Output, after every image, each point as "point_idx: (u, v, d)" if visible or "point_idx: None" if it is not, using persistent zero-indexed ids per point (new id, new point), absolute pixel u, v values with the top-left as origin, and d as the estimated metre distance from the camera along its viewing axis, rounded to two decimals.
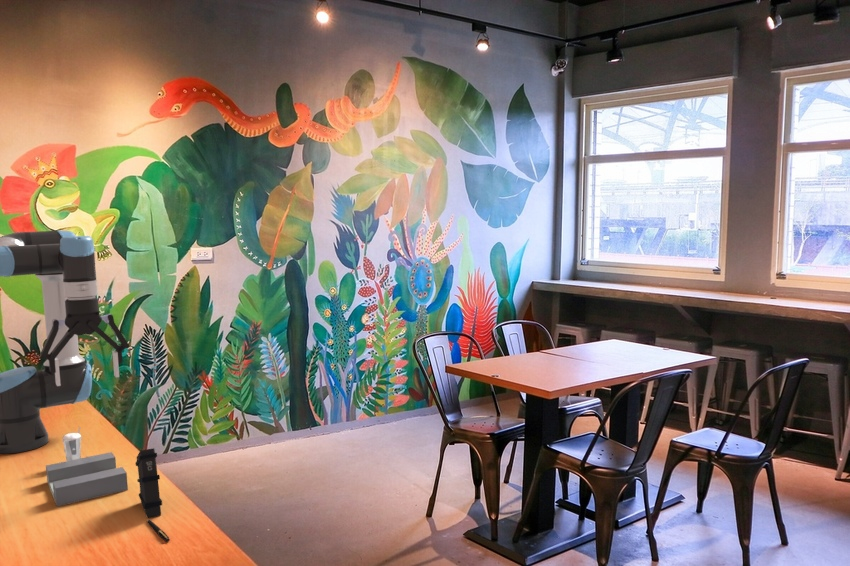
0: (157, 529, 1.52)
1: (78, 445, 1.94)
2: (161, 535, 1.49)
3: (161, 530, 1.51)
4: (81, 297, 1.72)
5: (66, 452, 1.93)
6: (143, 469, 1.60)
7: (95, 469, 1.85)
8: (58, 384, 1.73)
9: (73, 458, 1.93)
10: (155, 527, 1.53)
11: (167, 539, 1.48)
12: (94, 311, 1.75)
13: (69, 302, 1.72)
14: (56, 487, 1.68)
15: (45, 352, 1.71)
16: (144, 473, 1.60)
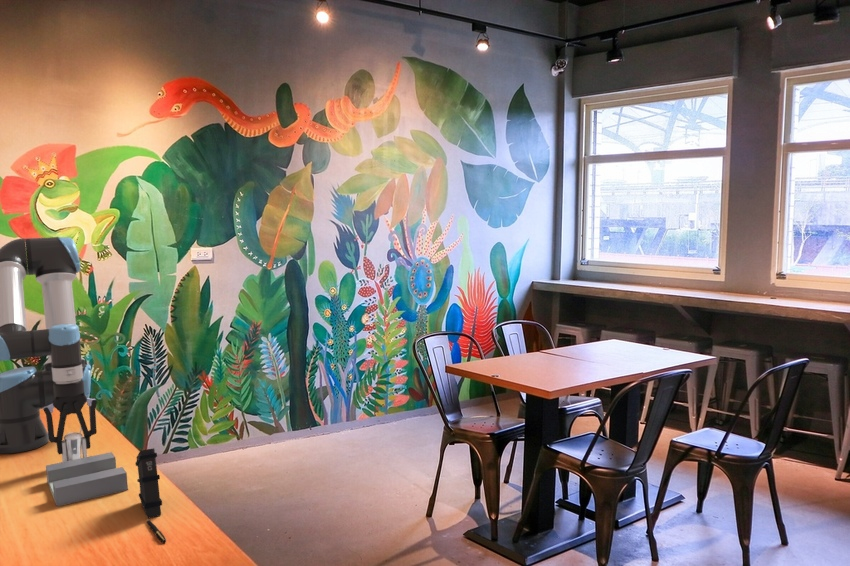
0: (155, 530, 1.52)
1: (79, 445, 1.94)
2: (158, 536, 1.49)
3: (159, 531, 1.51)
4: (68, 381, 1.90)
5: (67, 451, 1.93)
6: (143, 469, 1.60)
7: (95, 469, 1.85)
8: None
9: (73, 458, 1.93)
10: (153, 528, 1.53)
11: (163, 540, 1.47)
12: (80, 393, 1.92)
13: (57, 386, 1.89)
14: (56, 487, 1.68)
15: (51, 436, 1.90)
16: (144, 473, 1.60)
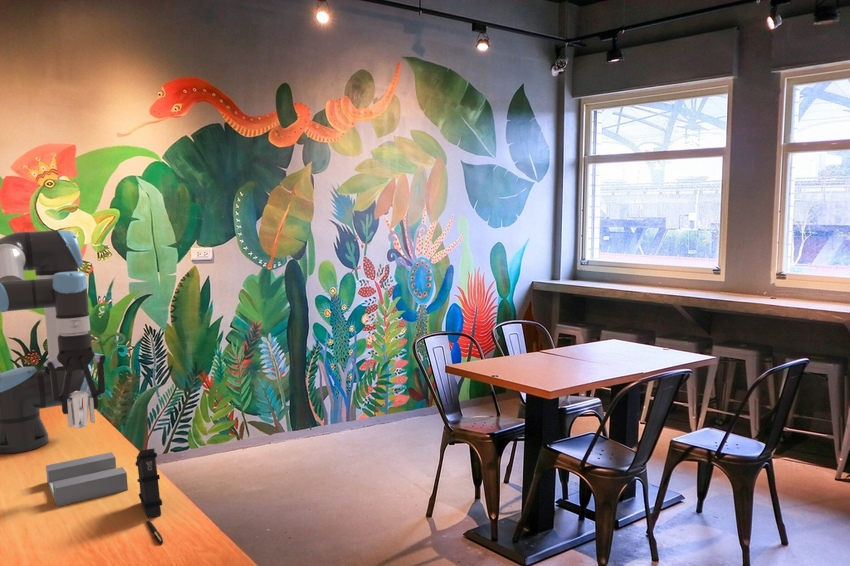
0: (153, 530, 1.52)
1: (86, 404, 1.76)
2: (156, 537, 1.49)
3: (157, 531, 1.51)
4: (74, 333, 1.72)
5: (72, 411, 1.76)
6: (143, 469, 1.60)
7: (95, 469, 1.85)
8: (70, 425, 1.75)
9: (80, 418, 1.76)
10: (152, 528, 1.53)
11: (160, 541, 1.47)
12: (87, 347, 1.75)
13: (62, 338, 1.72)
14: (56, 487, 1.68)
15: (56, 394, 1.73)
16: (144, 473, 1.60)
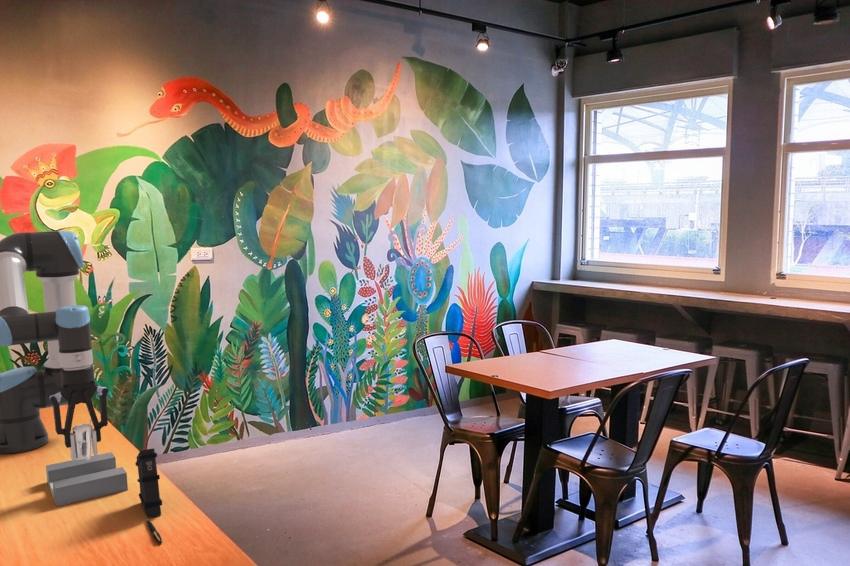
0: (153, 530, 1.51)
1: (89, 437, 1.77)
2: (155, 537, 1.49)
3: (156, 531, 1.50)
4: (76, 367, 1.73)
5: (75, 444, 1.76)
6: (143, 469, 1.60)
7: (95, 469, 1.85)
8: (73, 458, 1.76)
9: (83, 451, 1.77)
10: (152, 528, 1.53)
11: (159, 541, 1.47)
12: (89, 380, 1.76)
13: (65, 372, 1.73)
14: (56, 487, 1.68)
15: (59, 428, 1.74)
16: (144, 473, 1.60)
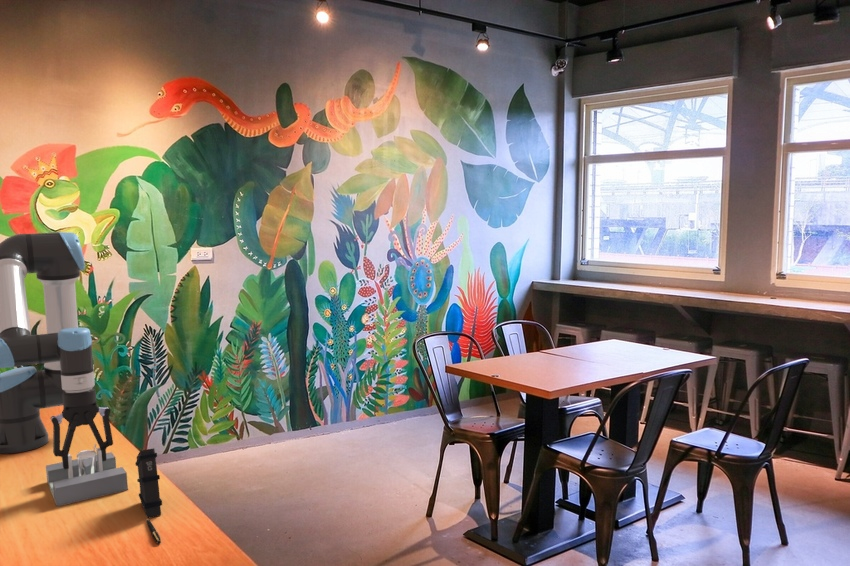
0: (152, 530, 1.51)
1: (93, 463, 1.79)
2: (154, 537, 1.49)
3: (155, 531, 1.50)
4: (78, 390, 1.74)
5: (80, 471, 1.78)
6: (143, 469, 1.60)
7: (95, 469, 1.85)
8: None
9: None
10: (151, 528, 1.52)
11: (158, 541, 1.47)
12: (91, 403, 1.76)
13: (66, 395, 1.74)
14: (56, 487, 1.68)
15: (57, 450, 1.74)
16: (144, 473, 1.60)
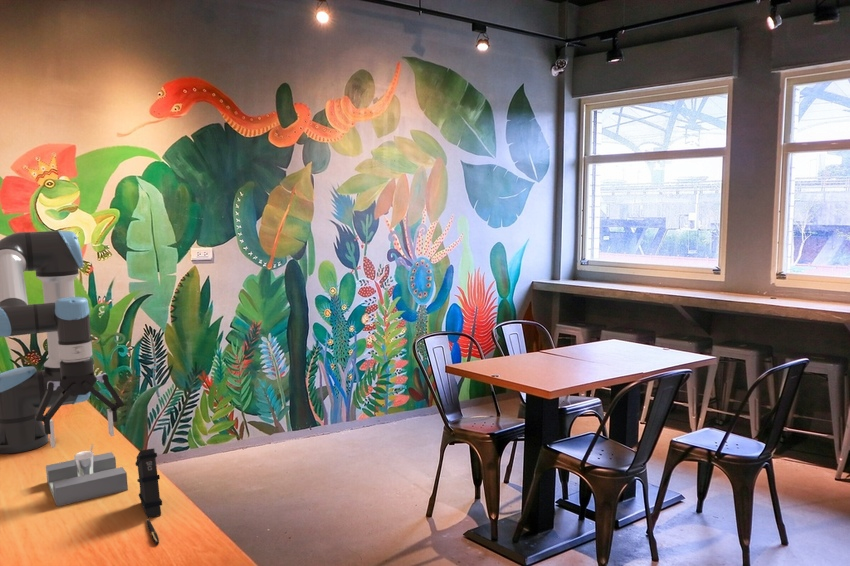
0: (151, 530, 1.51)
1: (91, 464, 1.78)
2: (152, 537, 1.48)
3: (154, 532, 1.50)
4: (76, 359, 1.73)
5: (78, 472, 1.77)
6: (143, 469, 1.60)
7: (95, 469, 1.85)
8: (53, 445, 1.74)
9: None
10: (150, 528, 1.52)
11: (156, 542, 1.46)
12: (89, 372, 1.75)
13: (64, 364, 1.73)
14: (56, 487, 1.68)
15: (40, 414, 1.71)
16: (144, 473, 1.60)
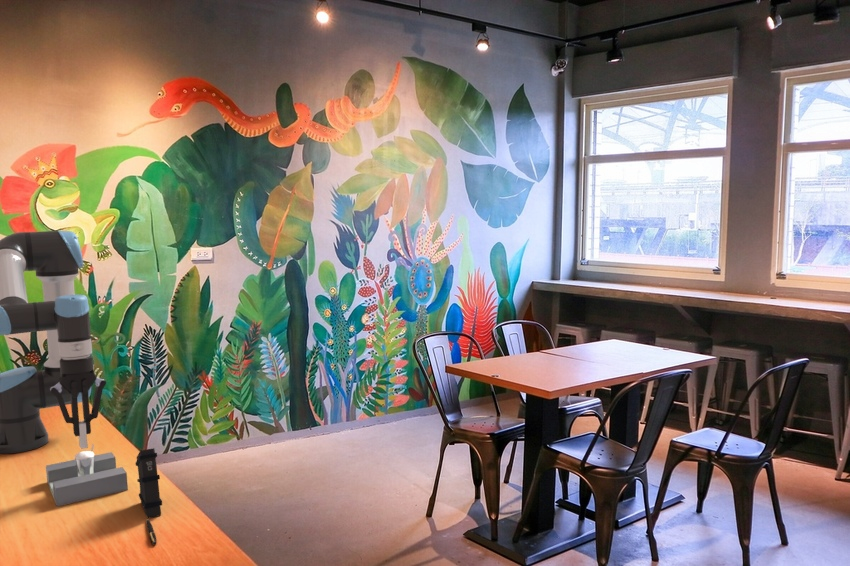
0: (150, 531, 1.51)
1: (91, 464, 1.78)
2: (150, 537, 1.48)
3: (152, 532, 1.50)
4: (76, 357, 1.73)
5: (78, 472, 1.78)
6: (143, 469, 1.60)
7: (95, 469, 1.85)
8: (82, 447, 1.77)
9: None
10: (149, 528, 1.52)
11: (154, 542, 1.46)
12: (89, 370, 1.75)
13: (64, 362, 1.73)
14: (56, 487, 1.68)
15: (66, 417, 1.75)
16: (144, 473, 1.60)
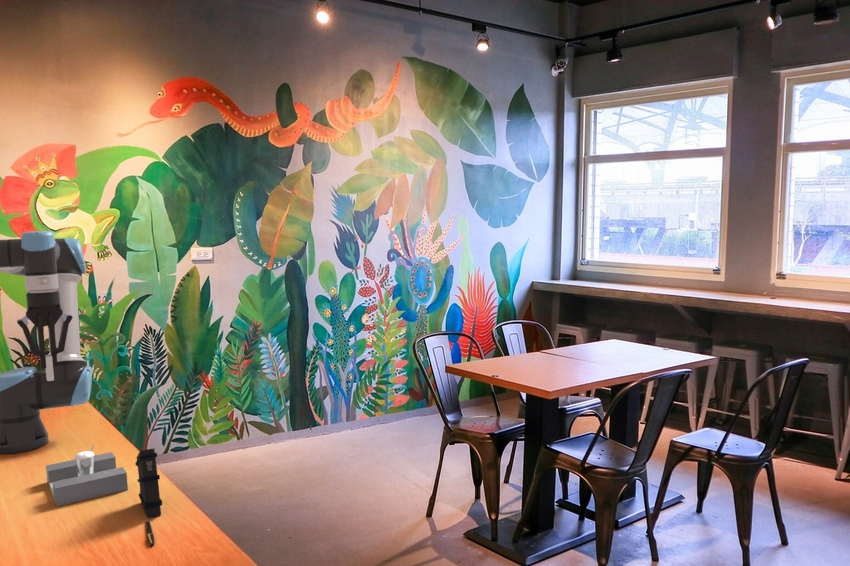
0: (148, 532, 1.51)
1: (91, 464, 1.78)
2: (148, 539, 1.48)
3: (151, 533, 1.50)
4: (41, 290, 1.78)
5: (78, 472, 1.78)
6: (143, 469, 1.60)
7: (95, 469, 1.85)
8: (48, 379, 1.82)
9: None
10: (148, 529, 1.52)
11: (151, 544, 1.46)
12: (55, 304, 1.81)
13: (30, 295, 1.78)
14: (56, 487, 1.68)
15: (33, 349, 1.80)
16: (144, 473, 1.60)
